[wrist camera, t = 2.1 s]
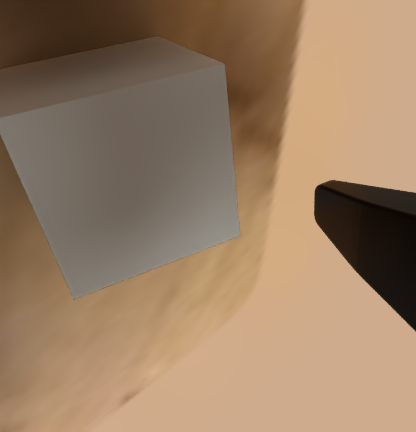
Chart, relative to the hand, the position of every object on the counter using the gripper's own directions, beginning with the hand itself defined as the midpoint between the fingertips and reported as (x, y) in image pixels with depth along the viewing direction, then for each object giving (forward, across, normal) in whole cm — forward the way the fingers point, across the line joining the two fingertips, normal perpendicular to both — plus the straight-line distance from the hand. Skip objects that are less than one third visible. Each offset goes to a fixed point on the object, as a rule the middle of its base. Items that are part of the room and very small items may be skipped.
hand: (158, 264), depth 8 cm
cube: (+7, 0, -1) cm, 7 cm away
